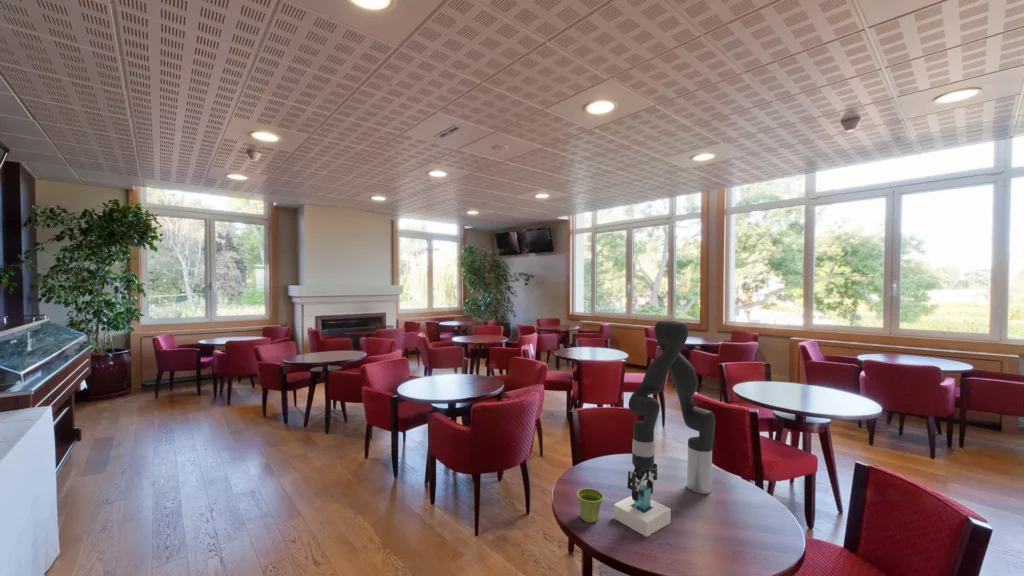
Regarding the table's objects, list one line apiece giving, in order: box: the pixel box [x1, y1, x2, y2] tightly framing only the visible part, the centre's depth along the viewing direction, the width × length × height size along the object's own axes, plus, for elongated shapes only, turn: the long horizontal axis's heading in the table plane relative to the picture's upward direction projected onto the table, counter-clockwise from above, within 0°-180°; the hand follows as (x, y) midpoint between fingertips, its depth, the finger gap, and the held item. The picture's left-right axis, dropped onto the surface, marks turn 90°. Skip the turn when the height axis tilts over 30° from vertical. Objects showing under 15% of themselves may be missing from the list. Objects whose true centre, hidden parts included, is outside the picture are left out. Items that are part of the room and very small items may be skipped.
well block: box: [612, 495, 672, 538], centre depth 152 cm, size 14×14×5 cm
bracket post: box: [634, 483, 652, 513], centre depth 152 cm, size 4×4×12 cm
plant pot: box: [576, 487, 604, 524], centre depth 153 cm, size 9×9×9 cm
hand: (642, 496), depth 152 cm, fingers open, 8 cm apart
